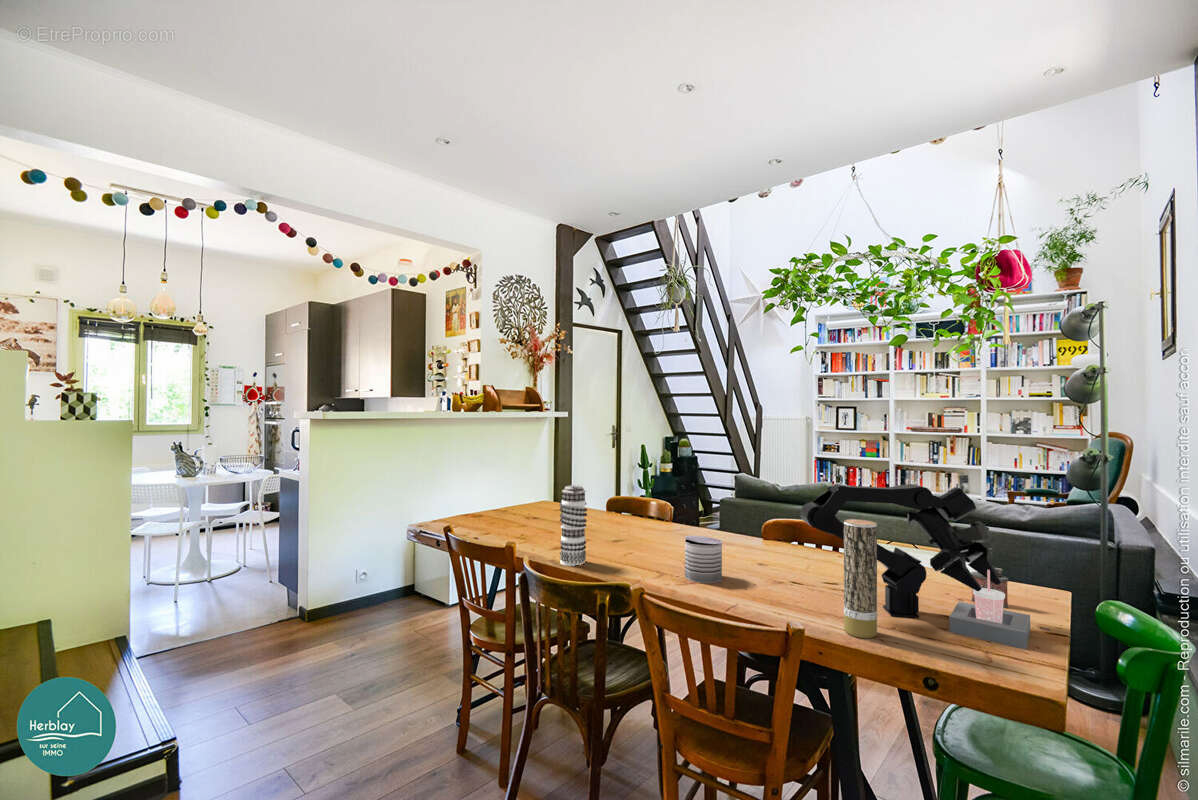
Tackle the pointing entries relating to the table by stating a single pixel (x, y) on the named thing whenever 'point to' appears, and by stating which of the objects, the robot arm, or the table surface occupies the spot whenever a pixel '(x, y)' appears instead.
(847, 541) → the paper tube
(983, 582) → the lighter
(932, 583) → the table surface
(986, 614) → the beverage cup
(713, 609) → the table surface
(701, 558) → the can
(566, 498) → the decorative candle
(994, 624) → the hole block
